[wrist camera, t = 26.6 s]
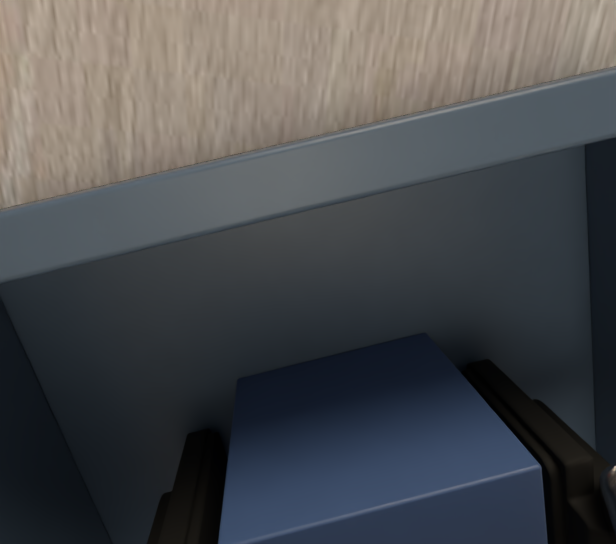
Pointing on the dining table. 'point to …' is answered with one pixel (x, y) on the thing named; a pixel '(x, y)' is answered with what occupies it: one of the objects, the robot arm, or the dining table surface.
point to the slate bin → (300, 289)
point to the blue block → (376, 456)
